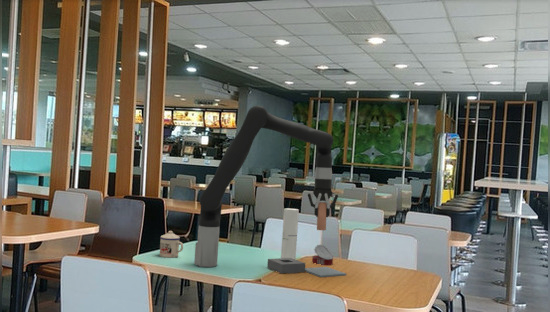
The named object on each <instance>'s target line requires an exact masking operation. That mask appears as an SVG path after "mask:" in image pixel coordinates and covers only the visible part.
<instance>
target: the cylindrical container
mask: <svg viewBox="0 0 550 312" xmlns="http://www.w3.org/2000/svg"><path fill="white" fill-rule="evenodd" d="M299 211H300V209H298V208H289V207H287V208H283V219H282V220H283V222H282V233H281V234H282V235H281V237H282V238H281V249H280V250H281V251H280V252H281V253H280V258H292V259H295V260H297V259H296V257H297V245H298V244H297V242H298V229H299V214H300V213H299Z"/></svg>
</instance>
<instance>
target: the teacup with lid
mask: <svg viewBox="0 0 550 312" xmlns="http://www.w3.org/2000/svg"><path fill="white" fill-rule="evenodd" d="M180 239H181V237H180V236H179V235H177V234H175V233H174V232H173V231H172V230H169V231H168V232H167V233H165V234H163V235H161V236H160V242H159V243H160V244H159V257H162V258H170V259H171V258H178V257H179V253H181V252H183V250H184V243H183V242H181V241H180ZM179 248H180V249H179Z"/></svg>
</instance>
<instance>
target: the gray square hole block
mask: <svg viewBox="0 0 550 312" xmlns="http://www.w3.org/2000/svg"><path fill="white" fill-rule="evenodd" d="M266 266H267V267H266V268H267V269H269V270H271V271H274V272H276V271H277V272H276V273H278V272H279V273H278V274H281V273H282V274H281V275H284V274H283V273H288V274H299V273H298V272H302V273H305V268H306V263H305V262H303V261H300V260H298V259H296V260H295V259H292V258H281V257H280V258H278V257H277V258H268V259H267V265H266Z"/></svg>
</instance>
